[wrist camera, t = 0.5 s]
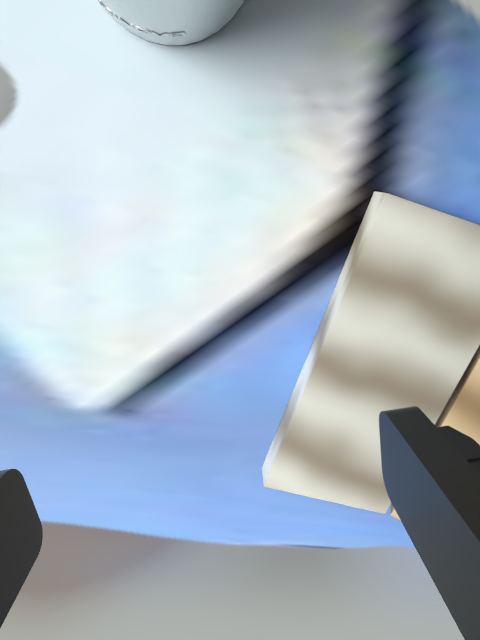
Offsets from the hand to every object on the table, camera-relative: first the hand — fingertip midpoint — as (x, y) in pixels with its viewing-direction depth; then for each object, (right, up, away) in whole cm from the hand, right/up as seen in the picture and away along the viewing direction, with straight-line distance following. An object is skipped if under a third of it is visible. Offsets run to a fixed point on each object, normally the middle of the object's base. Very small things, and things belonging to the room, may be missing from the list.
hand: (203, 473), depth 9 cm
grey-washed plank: (+11, 0, +20) cm, 23 cm away
